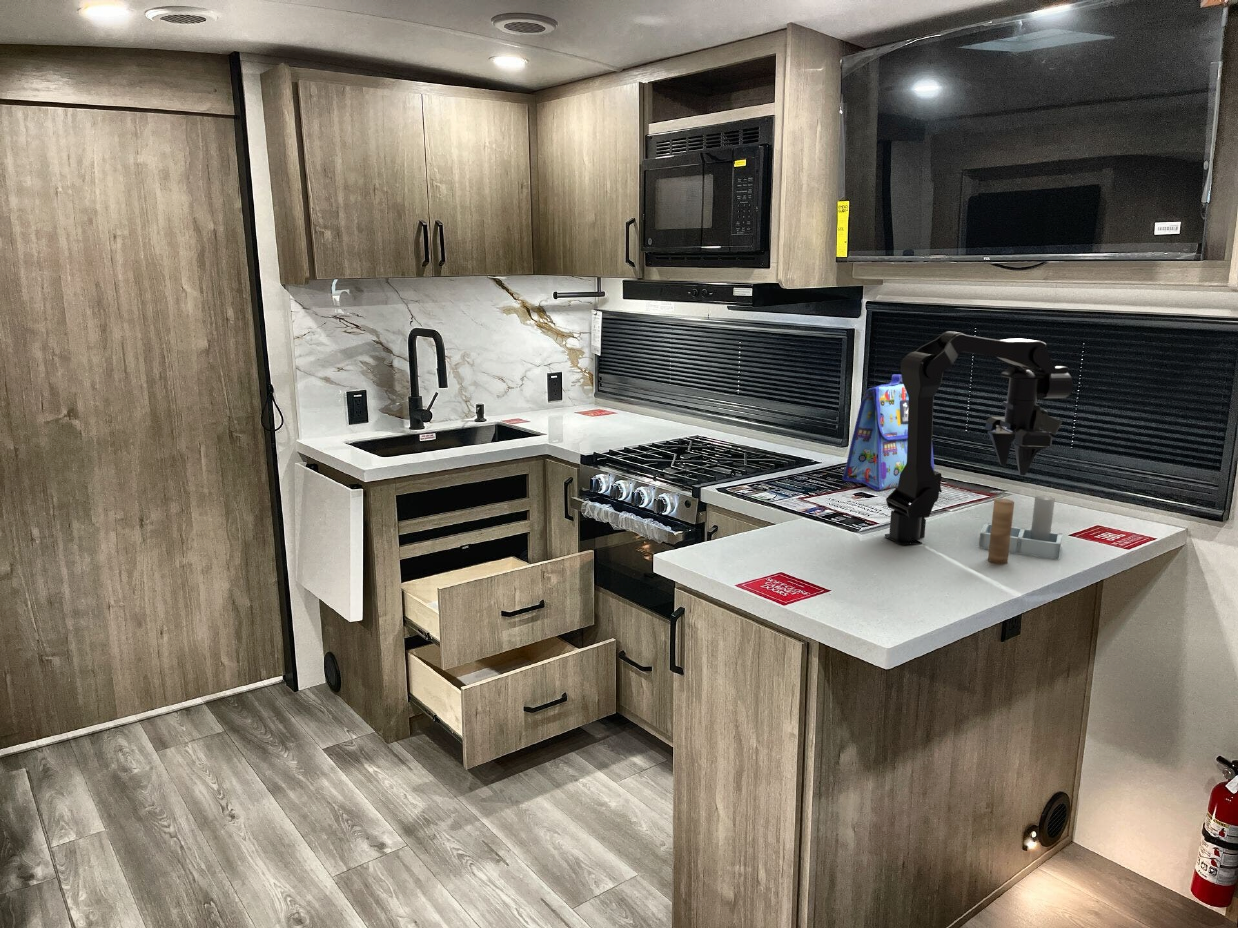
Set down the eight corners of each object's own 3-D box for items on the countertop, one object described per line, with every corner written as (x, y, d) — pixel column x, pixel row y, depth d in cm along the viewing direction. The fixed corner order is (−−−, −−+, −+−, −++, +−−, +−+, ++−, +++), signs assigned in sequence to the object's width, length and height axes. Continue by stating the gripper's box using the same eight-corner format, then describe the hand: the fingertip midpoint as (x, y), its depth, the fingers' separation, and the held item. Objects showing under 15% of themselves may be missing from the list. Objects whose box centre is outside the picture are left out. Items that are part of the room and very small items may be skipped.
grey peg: (1037, 553, 180) (1044, 501, 177) (1025, 548, 183) (1031, 496, 181) (1052, 552, 181) (1058, 499, 178) (1039, 546, 184) (1045, 495, 182)
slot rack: (977, 551, 183) (979, 533, 183) (983, 539, 191) (985, 522, 190) (1058, 563, 177) (1060, 545, 176) (1060, 550, 184) (1063, 532, 183)
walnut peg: (995, 568, 174) (1002, 504, 171) (983, 562, 177) (990, 499, 174) (1011, 566, 175) (1018, 502, 172) (998, 560, 178) (1005, 498, 175)
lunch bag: (880, 492, 228) (888, 379, 221) (840, 480, 239) (847, 373, 232) (936, 481, 239) (946, 373, 233) (896, 470, 250) (904, 368, 244)
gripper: (1082, 407, 181) (1071, 481, 185) (1037, 392, 199) (1028, 461, 203) (1028, 405, 181) (1018, 480, 184) (988, 391, 199) (980, 460, 203)
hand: (1012, 470), depth 194 cm, fingers open, 9 cm apart
